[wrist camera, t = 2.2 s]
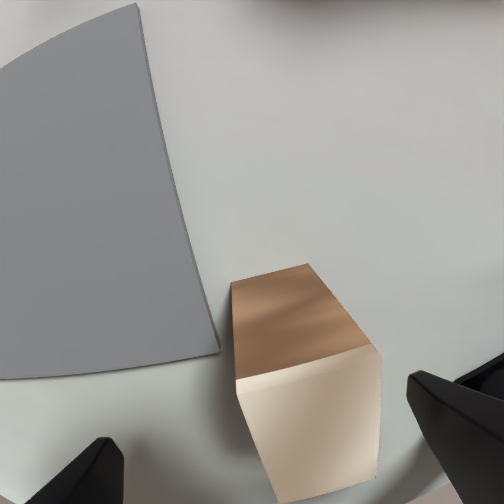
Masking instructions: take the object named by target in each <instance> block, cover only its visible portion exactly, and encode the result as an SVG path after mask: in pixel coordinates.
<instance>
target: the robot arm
mask: <svg viewBox="0 0 504 504" xmlns="http://www.w3.org/2000/svg"><path fill="white" fill-rule="evenodd" d="M406 396H407V400H408V403H409V405H410V407H411V409H412V411H413V414H414V416H415V418H416V420H417V422H418V424H419V427H420V429H421V431H422V433H423V435H424V437H425V439H426V441H427V443H428V445H429V446H430V448H431V450H432V451H433V453H434V455H435V456H436V458H437V459H438V461H439V463H440V464H441V466H442V468H443V469H444V471H445V473H446V474H447V476H448V478H449V480H450V481H451V483H452V485H453V486H454V488H455V490H456V492H457V493H458V495H459V496H460V498H461V500H462V502H463V504H504V354H502V355H500V356H499V357H497V358H495V359H494V360H492V361H490V362H489V363H487V364H485V365H483V366H482V367H480V368H478V369H476V370H474V371H473V372H471V373H469V374H467V375H465V376H463V377H461V378H460V379H458V380H457V381H456V382H455V383H453V382H451V381H448V380H446V379H443V378H440V377H438V376H435V375H433V374H430V373H428V372H425V371H422V370H419V371H417V372H414V373H412V374H410V375H409V376H408V380H407V393H406ZM123 490H124V456H123V454H122V452H121V451H120V449H119V448H118V446H117V445H116V444H115V442H114V441H113V440H112V439H111V438H110V437H99V438H97V439H96V440H95V441H94V442H93V443H92V444H90V445H89V446H88V447H87V448H86V449H85V450H84V451H83V452H82V453H81V454H80V455H78V456H77V457H76V458H75V459H74V460H73V461H72V462H71V463H70V464H69V465H67V466H66V467H65V468H64V469H63V470H62V471H61V472H60V473H59V474H57V475H56V476H55V477H54V478H53V479H52V480H51V481H50V482H48V483H47V484H46V485H45V486H44V487H43V488H42V489H41V490H39V491H38V492H37V493H36V494H35V495H34V496H33V497H31V500H30V499H29V500H28V501H27V502H26V503H25V504H123Z"/></svg>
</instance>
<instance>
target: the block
mask: <svg viewBox="0 0 504 504" xmlns="http://www.w3.org/2000/svg"><path fill="white" fill-rule="evenodd" d="M231 291H232V315H233V336H234V356H235V375H236V393H237V397H238V400H239V403H240V406H241V408H242V411H243V414H244V416H245V419H246V422H247V424H248V427H249V430H250V432H251V435H252V438H253V440H254V443H255V445H256V448H257V451H258V453H259V456H260V458H261V461H262V463H263V466H264V468H265V471H266V473H267V476H268V478H269V481H270V483H271V485H272V488H273V490H274V493H275V495H276V497H277V500H278V502H279V504H285V503H290V502H295V501H299V500H303V499H307V498H312V497H315V496H319V495H323V494H327V493H330V492H334V491H337V490H340V489H344V488H347V487H350V486H353V485H356V484H359V483H362V482H365V481H368V480H370V479H373V478H376V474H377V463H378V450H379V435H380V411H381V355H380V353H379V352H378V351H377V350H376V348H375V347H374V346H373V344H372V343H371V342H370V341H369V339H368V338H367V337H366V335H365V334H364V333H363V332H362V330H361V329H360V328H359V326H358V325H357V324H356V323H355V321H354V320H353V319H352V318H351V316H350V315H349V314H348V312H347V311H346V310H345V309H344V307H343V306H342V305H341V304H340V302H339V301H338V300H337V299H336V297H335V296H334V295H333V294H332V292H331V291H330V290H329V289H328V288H327V286H326V285H325V284H324V283H323V281H322V280H321V279H320V278H319V276H318V275H317V274H316V273H315V271H314V270H313V269H312V268H311V267H310V265H309V264H304V265H300V266H296V267H292V268H288V269H284V270H280V271H276V272H272V273H268V274H263V275H259V276H255V277H251V278H247V279H243V280H239V281H235V282H231Z"/></svg>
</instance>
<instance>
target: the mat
mask: <svg viewBox="0 0 504 504" xmlns="http://www.w3.org/2000/svg"><path fill="white" fill-rule="evenodd" d="M220 346H221V344H220V341H219V338H218V335H217V332H216V328H215V325H214V322H213V319H212V316H211V312H210V309H209V306H208V302H207V299H206V296H205V292H204V289H203V286H202V282H201V279H200V275H199V272H198V269H197V265H196V261H195V258H194V254H193V251H192V247H191V244H190V240H189V236H188V233H187V229H186V225H185V221H184V218H183V214H182V210H181V206H180V202H179V198H178V194H177V190H176V186H175V182H174V178H173V174H172V170H171V166H170V162H169V157H168V153H167V149H166V144H165V140H164V136H163V131H162V127H161V122H160V117H159V113H158V108H157V103H156V98H155V94H154V89H153V84H152V78H151V73H150V68H149V63H148V57H147V52H146V46H145V41H144V35H143V29H142V23H141V17H140V10H139V8H138V6H137V4H136V3H134V4H131V5H128V6H125V7H122V8H119V9H117V10H114V11H111V12H109V13H106V14H104V15H101V16H99V17H96V18H94V19H91V20H89V21H87V22H85V23H82V24H80V25H78V26H76V27H74V28H71V29H69V30H67V31H65V32H63V33H61V34H59V35H57V36H55V37H53V38H51V39H49V40H48V41H46V42H44V43H42V44H40V45H38V46H37V47H35V48H33V49H31V50H30V51H28V52H26V53H25V54H23V55H21V56H20V57H18V58H16V59H15V60H13V61H12V62H10V63H9V64H7V65H5V66H4V67H2V68H1V69H0V379H16V378H35V377H49V376H61V375H72V374H82V373H92V372H100V371H109V370H116V369H124V368H131V367H138V366H145V365H151V364H158V363H164V362H170V361H175V360H181V359H187V358H192V357H198V356H203V355H208V354H213V353H218V352H220Z"/></svg>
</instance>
